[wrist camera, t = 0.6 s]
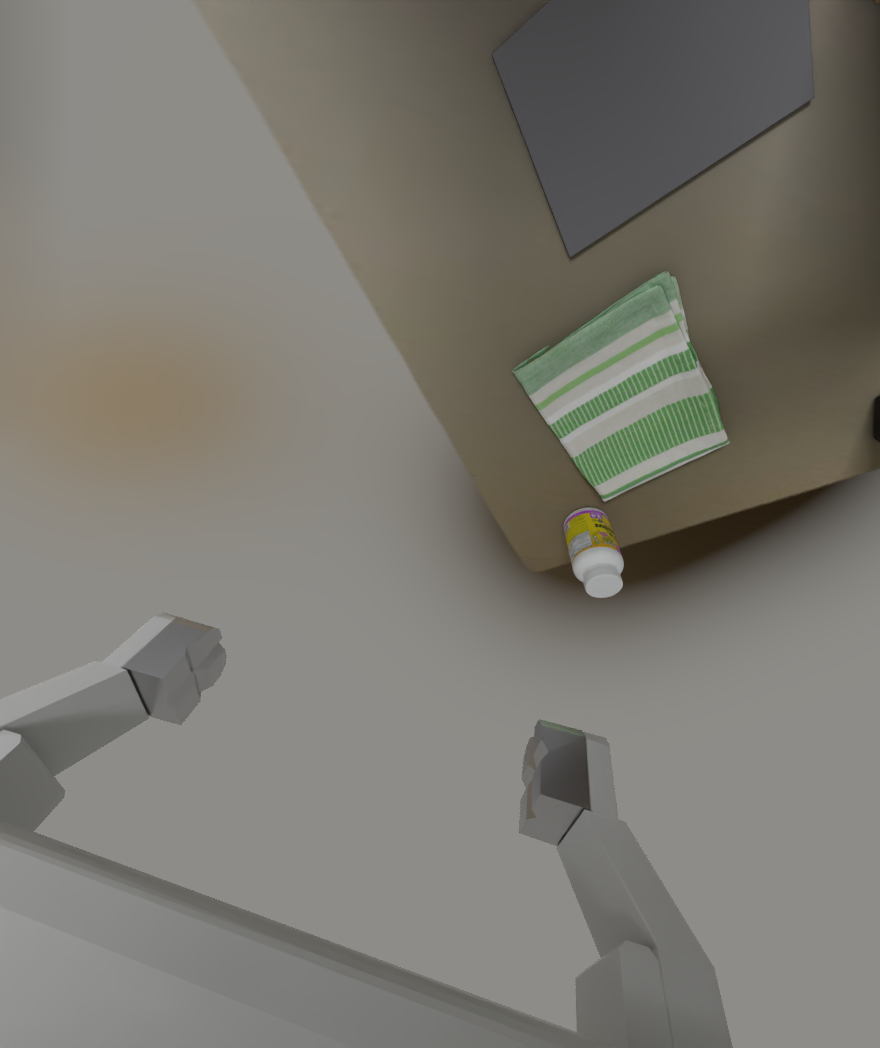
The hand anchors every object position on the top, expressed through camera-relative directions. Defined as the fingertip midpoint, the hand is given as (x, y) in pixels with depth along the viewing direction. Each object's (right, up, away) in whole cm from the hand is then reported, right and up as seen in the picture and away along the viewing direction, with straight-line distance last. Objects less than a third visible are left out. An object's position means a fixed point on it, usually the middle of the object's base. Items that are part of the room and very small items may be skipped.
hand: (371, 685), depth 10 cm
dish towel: (+24, +19, +41) cm, 51 cm away
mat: (+18, +39, +23) cm, 49 cm away
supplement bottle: (+24, +4, +54) cm, 59 cm away
